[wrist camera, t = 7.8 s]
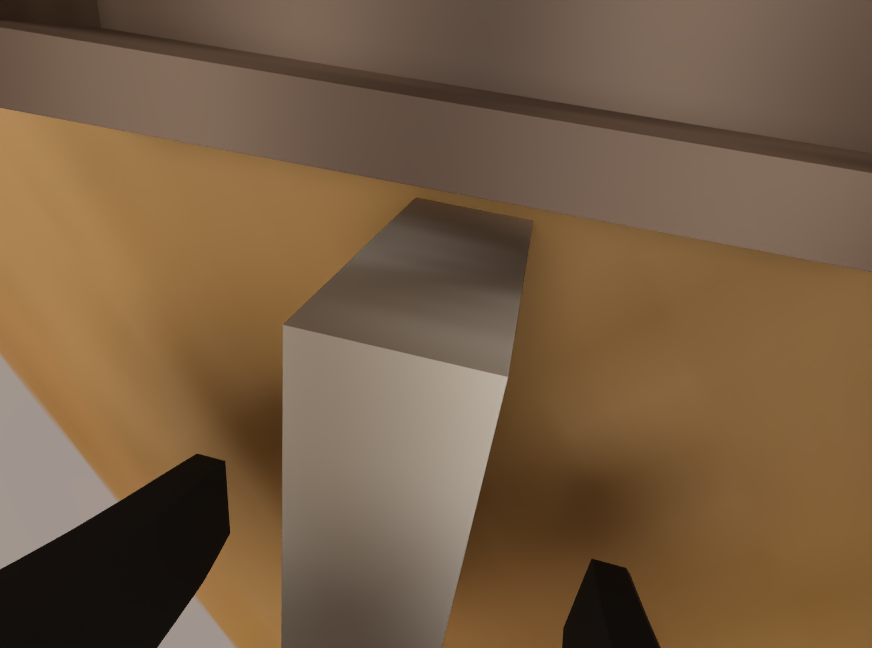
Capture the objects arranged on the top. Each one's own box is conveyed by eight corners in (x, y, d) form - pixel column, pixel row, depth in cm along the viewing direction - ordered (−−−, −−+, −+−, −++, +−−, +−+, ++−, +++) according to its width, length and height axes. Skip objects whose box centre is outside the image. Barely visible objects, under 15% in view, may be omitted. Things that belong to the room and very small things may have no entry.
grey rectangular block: (533, 219, 11) (508, 377, 5) (449, 577, 16) (394, 838, 10) (416, 196, 11) (282, 324, 6) (372, 555, 16) (280, 799, 11)
